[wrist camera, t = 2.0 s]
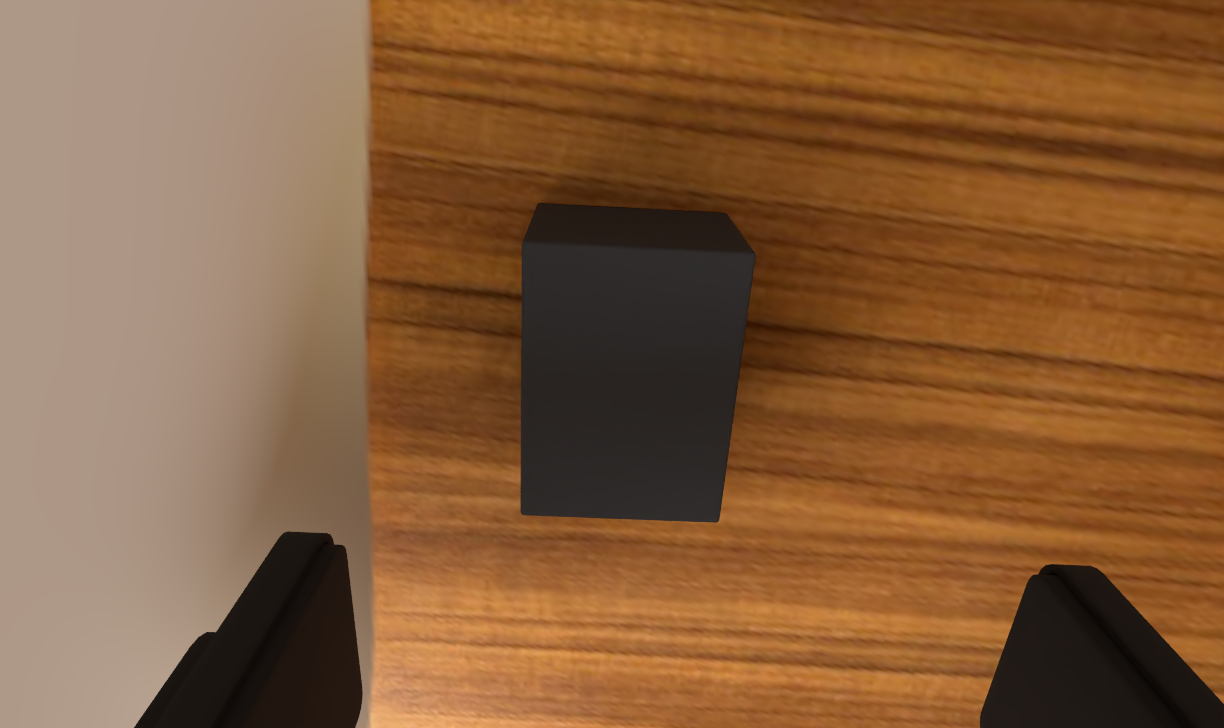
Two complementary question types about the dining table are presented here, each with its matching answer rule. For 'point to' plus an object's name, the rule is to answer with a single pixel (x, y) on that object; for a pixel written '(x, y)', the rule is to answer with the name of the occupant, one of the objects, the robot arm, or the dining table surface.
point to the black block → (630, 360)
